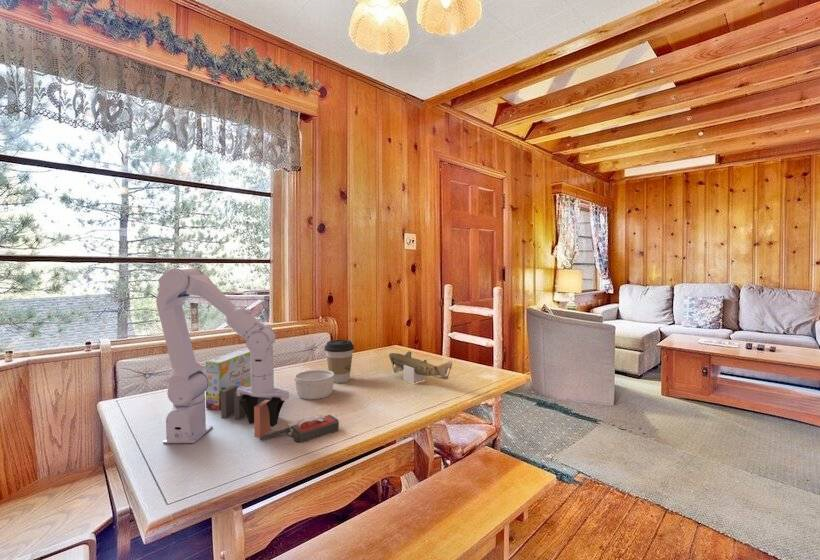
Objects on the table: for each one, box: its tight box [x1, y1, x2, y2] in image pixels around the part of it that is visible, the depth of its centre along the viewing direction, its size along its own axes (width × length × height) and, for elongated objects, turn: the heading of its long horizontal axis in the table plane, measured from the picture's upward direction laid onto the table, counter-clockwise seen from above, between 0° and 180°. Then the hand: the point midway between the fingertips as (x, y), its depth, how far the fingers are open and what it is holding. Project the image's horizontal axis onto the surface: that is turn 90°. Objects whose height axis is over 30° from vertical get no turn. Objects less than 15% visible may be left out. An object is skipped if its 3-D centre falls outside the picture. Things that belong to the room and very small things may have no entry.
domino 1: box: [220, 386, 237, 419], centre depth 113 cm, size 2×5×8 cm, turn 166°
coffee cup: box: [323, 339, 355, 384], centre depth 146 cm, size 11×11×15 cm
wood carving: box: [388, 351, 453, 384], centre depth 144 cm, size 9×35×11 cm, turn 40°
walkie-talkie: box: [259, 414, 340, 444], centre depth 100 cm, size 9×4×20 cm
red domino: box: [253, 400, 272, 438], centre depth 101 cm, size 2×5×8 cm, turn 166°
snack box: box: [205, 347, 251, 411], centre depth 127 cm, size 21×6×15 cm, turn 168°
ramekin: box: [294, 369, 334, 401], centre depth 131 cm, size 13×13×7 cm
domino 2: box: [234, 391, 247, 421], centre depth 112 cm, size 2×5×8 cm, turn 166°
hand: (263, 423), depth 101 cm, fingers open, 6 cm apart
